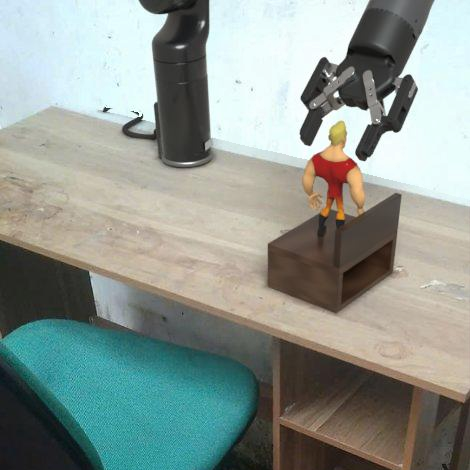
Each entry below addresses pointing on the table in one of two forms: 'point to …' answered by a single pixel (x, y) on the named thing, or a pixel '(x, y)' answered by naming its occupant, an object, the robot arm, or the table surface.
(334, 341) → the table surface
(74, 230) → the table surface
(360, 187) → the action figure
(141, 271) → the table surface
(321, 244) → the shelf
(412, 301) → the table surface
